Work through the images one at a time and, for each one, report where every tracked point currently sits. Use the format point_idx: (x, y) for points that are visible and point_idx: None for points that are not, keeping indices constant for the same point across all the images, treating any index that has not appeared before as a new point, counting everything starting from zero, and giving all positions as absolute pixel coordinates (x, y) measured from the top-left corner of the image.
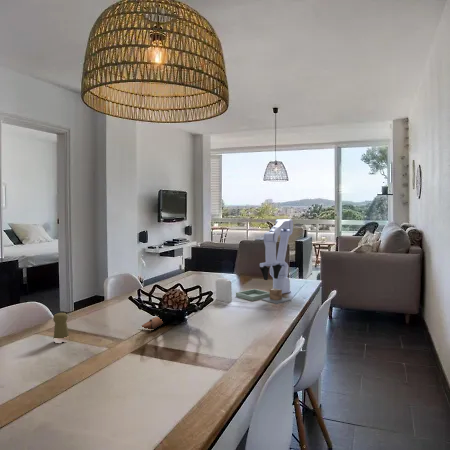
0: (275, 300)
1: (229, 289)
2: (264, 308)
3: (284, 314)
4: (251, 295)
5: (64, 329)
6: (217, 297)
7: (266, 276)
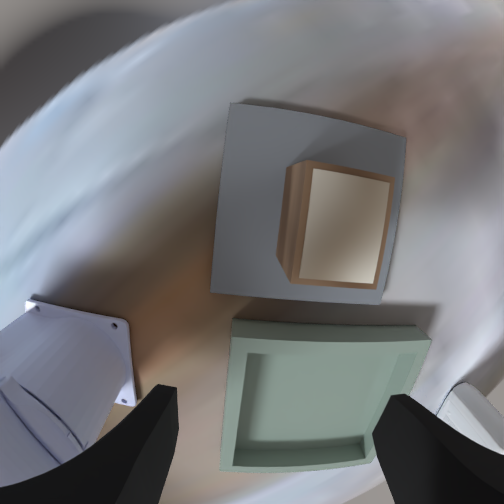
0: None
1: (498, 419)
2: (484, 159)
3: (474, 27)
4: (302, 424)
5: None
6: None
7: (443, 423)
